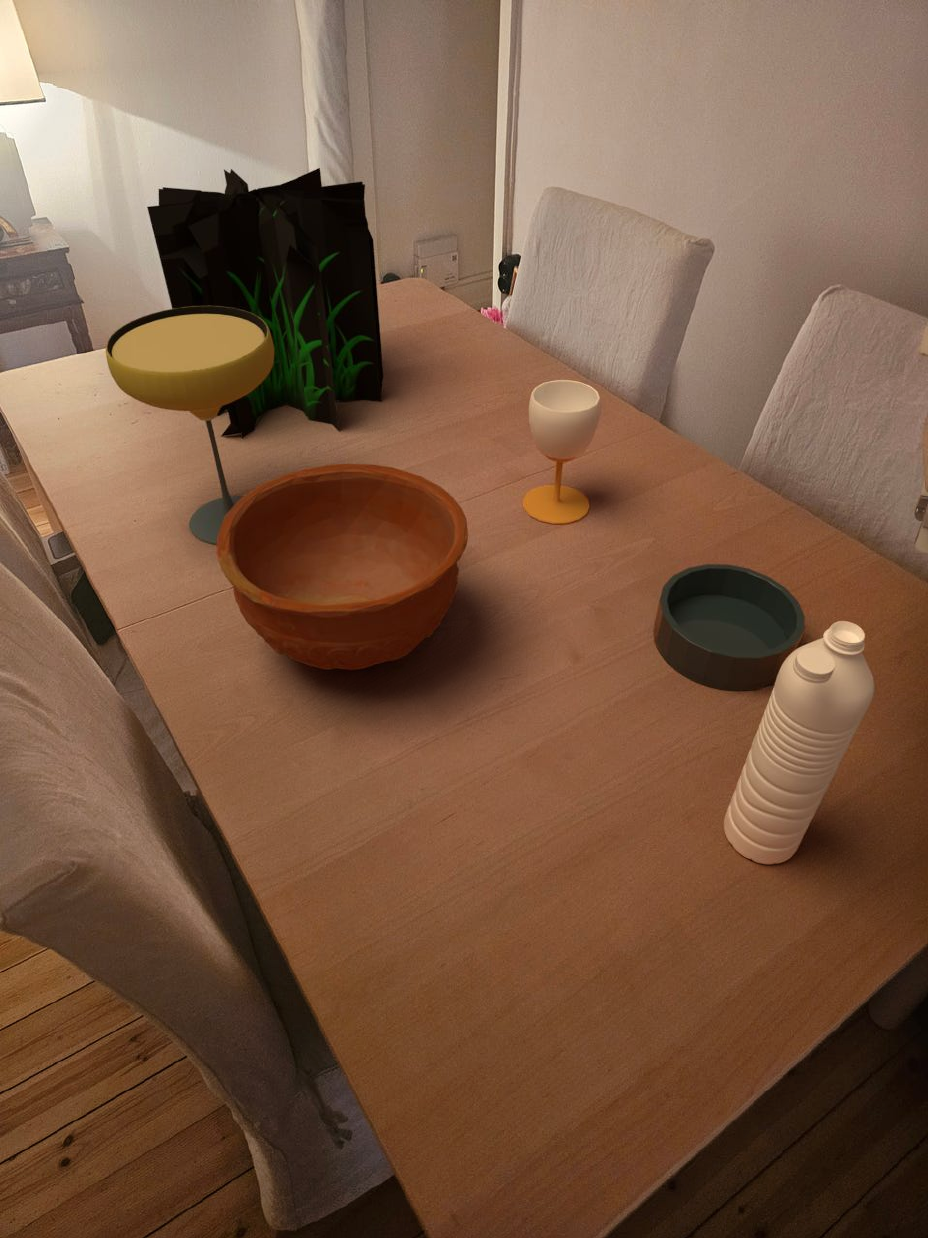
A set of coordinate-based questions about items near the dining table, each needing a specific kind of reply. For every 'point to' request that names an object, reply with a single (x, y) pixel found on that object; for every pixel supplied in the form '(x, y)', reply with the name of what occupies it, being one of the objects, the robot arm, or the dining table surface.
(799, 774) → the water bottle
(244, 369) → the cocktail glass
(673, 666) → the holder
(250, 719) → the dining table surface
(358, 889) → the dining table surface
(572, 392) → the cup
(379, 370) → the decorative plant
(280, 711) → the dining table surface
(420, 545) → the bowl
